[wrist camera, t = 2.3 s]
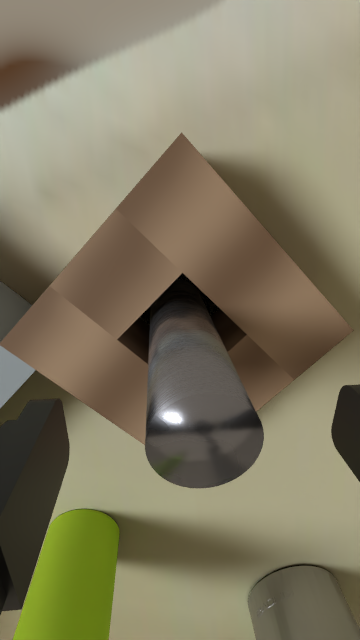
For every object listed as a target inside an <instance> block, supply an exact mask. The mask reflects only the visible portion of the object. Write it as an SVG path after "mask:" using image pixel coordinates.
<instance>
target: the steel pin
mask: <svg viewBox="0 0 360 640" xmlns="http://www.w3.org/2000/svg"><path fill="white" fill-rule="evenodd" d="M263 440H264V433H263V427H262V424H261V421H260V419H259V417H258V415H257V413H256V411H255V409H254V407H253V404H252V402H251V400H250V398H249V396H248V394H247V392H246V390H245V388H244V386H243V384H242V381H241V379H240V377H239V375H238V373H237V371H236V369H235V367H234V365H233V363H232V361H231V358H230V356H229V354H228V352H227V350H226V348H225V346H224V344H223V342H222V340H221V338H220V335H219V333H218V331H217V329H216V327H215V325H214V323H213V321H212V319H211V317H210V315H209V313H208V310H207V308H206V306H205V304H204V302H203V300H202V298H201V296H200V294H199V292H198V290H197V289H196V288H195V287H194V286H193V285H192V284H191V283H189V282H187V281H184V280H179V279H176V280H175V281H174V282H173V283H172V284H171V285H170V286H169V287H168V288H167V289H166V290H165V291H164V292H163V293H162V294H161V295H160V296H159V297H158V298H157V299H156V300H155V301H154V302H153V303H152V304H151V307H150V332H149V358H148V383H147V408H146V434H145V451H146V456H147V459H148V461H149V463H150V465H151V466H152V468H153V469H154V470H155V471H156V472H157V473H158V474H159V475H160V476H161V477H162V478H164V479H166V480H167V481H169V482H171V483H173V484H176V485H179V486H183V487H188V488H209V487H214V486H219V485H222V484H225V483H227V482H230V481H232V480H234V479H236V478H237V477H239V476H240V475H242V474H243V473H244V472H246V471H247V470H248V469H249V468H250V467H251V466H252V465H253V463H254V462H255V461H256V459H257V458H258V456H259V454H260V452H261V449H262V446H263Z"/></svg>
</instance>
